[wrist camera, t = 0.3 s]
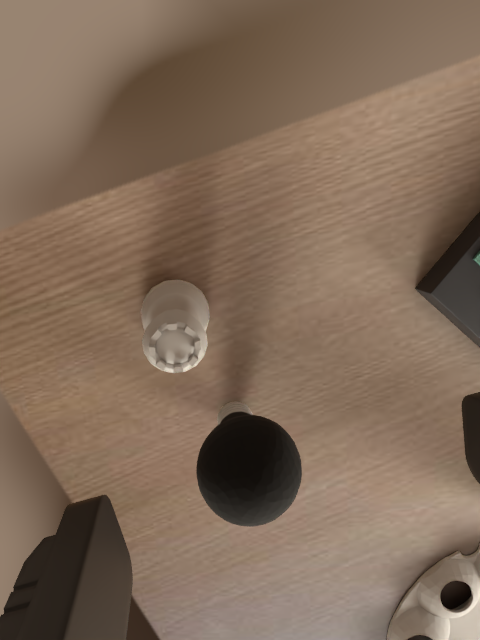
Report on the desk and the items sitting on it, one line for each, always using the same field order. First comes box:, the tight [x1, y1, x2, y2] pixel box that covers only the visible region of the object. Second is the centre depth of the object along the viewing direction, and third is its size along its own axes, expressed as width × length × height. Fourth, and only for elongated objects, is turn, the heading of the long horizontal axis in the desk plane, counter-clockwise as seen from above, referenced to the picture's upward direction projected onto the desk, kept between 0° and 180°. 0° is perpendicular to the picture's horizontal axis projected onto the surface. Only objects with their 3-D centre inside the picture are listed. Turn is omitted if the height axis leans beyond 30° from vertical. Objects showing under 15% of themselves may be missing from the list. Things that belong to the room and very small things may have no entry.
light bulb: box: [197, 401, 302, 526], centre depth 26 cm, size 6×6×10 cm
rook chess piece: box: [141, 279, 210, 373], centre depth 24 cm, size 4×4×8 cm
